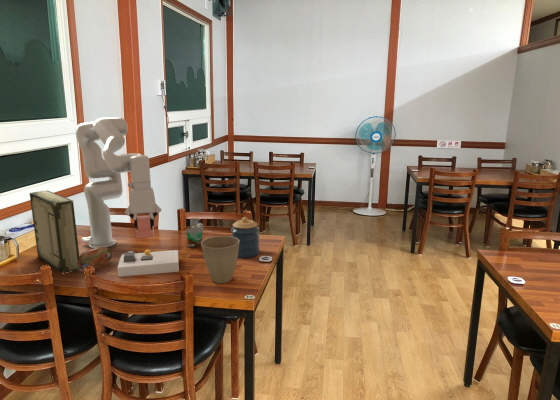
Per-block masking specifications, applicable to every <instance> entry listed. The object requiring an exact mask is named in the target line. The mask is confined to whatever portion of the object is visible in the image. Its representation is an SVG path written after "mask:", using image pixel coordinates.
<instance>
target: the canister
mask: <svg viewBox="0 0 560 400" xmlns="http://www.w3.org/2000/svg"><path fill="white" fill-rule="evenodd" d="M230 231H231V237H235V238H237V239H239V251H238V257H237V258H241V259H242V258H243V259H248V258H254V257H256V256H258V255H260V249H261V248H260V234H259V231H260V227H258V223H257V222H256V221H254V220H252V219H248V217H247V216H244V217H243V216H242V218H241V219H239V220H236V221H235V222H234V223H232V228H230Z"/></svg>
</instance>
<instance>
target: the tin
mask: <svg viewBox="0 0 560 400" xmlns="http://www.w3.org/2000/svg"><path fill="white" fill-rule="evenodd" d="M112 253H113V252H112V250H111V248H109V247H98V248H91V249H90V250H86V251H84V252H81V254H79V258H78V266H79V268H80V269H81V271H84V268H85V267H88V266H92V267H94V268H95V270H98V269H100V268H103V267H105V266H107V265H109V263H111V260H112V258H113V254H112Z"/></svg>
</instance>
